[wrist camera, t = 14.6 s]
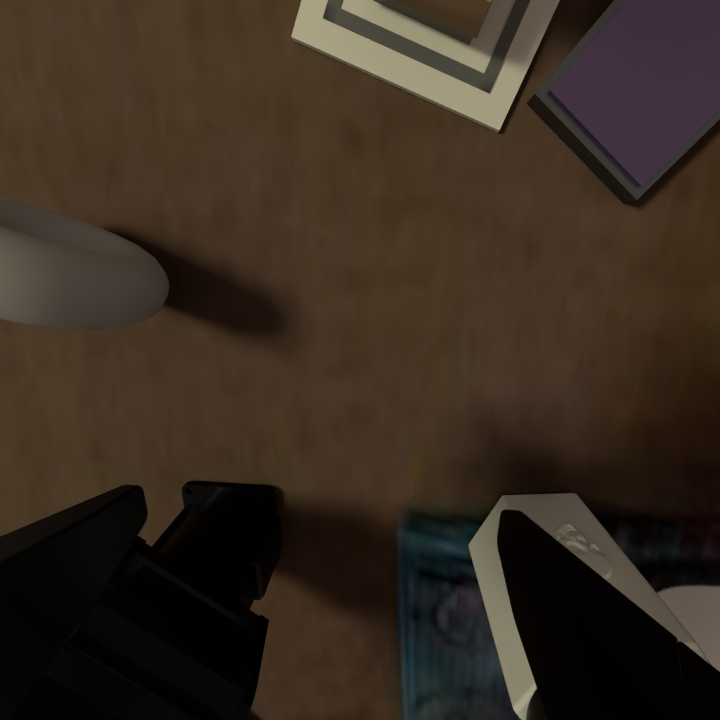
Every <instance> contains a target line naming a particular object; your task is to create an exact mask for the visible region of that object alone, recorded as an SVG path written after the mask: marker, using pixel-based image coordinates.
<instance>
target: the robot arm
mask: <svg viewBox="0 0 720 720" xmlns="http://www.w3.org/2000/svg"><path fill="white" fill-rule="evenodd" d="M189 488H190V489H191V490H190V489H189ZM265 493H268V494H269V496H268V495H266V494H265ZM182 495H183V502H184V509H183V510H182V511H181V512H180V514H179V515H178V516H177V517H176V518H175V520H174V521H173V522H172V523H171V524H170V526H169V527H168V528H167V529H166V530H165V531H164V533H163V534H162V535H161V536H160V537H159V539H158V540H157V541H156V542H155V543H154V544H153V546H152V547H151V546H149V545H148V544H146V541H145V540H144V539H142V538H141V537H139V536H137V535H138V534H139V532H140V530H141V529H142V527H143V525H144V524H145V522H146V519H147V514H148V512H147V506H146V501H145V496H144V491H143V489H142V487H140V486H138V485H123V486H120V487H118V488H115V489H113V490H110V491H108V492H106V493H103V494H101V495H98V496H96V497H94V498H91V499H89V500H87V501H84V502H82V503H79V504H77V505H75V506H72V507H70V508H68V509H65V510H63V511H60V512H58V513H56V514H53V515H51V516H49V517H46V518H44V519H41V520H39V521H37V522H34V523H32V524H29V525H27V526H25V527H22V528H20V529H18V530H15V531H13V532H10V533H8V534H6V535H3V536H1V537H0V720H246V719H247V717H248V714H249V711H250V709H251V706H252V703H253V700H254V696H255V692H256V688H257V683H258V678H259V672H260V667H261V661H262V656H263V650H264V644H265V639H266V633H267V628H268V622H269V620H268V619H267V618H265V617H264V616H262V615H260V616H258V615H257V614H255V613H254V612H252V611H251V610H250V608H251V605H252V603H253V601H254V600H260V599H261V598H262V597H264V594H265V592H266V589H267V586H268V584H269V581H270V579H271V576H272V573H273V571H274V568H275V566H277V564H278V562H279V559H280V552H281V550H282V531H281V519H280V517H279V516H277V509H276V493H275V490H274V489H273V488H272V487H270V486H259V485H243V484H226V483H210V482H194V481H189V482H187V483H186V484H185V485H184V486H183V487H182ZM497 547H498V552H499V557H500V561H501V565H502V570H503V574H504V578H505V583H506V587H507V592H508V596H509V600H510V605H511V609H512V613H513V617H514V620H515V624H516V627H517V630H518V633H519V636H520V639H521V642H522V645H523V648H524V651H525V654H526V657H527V660H528V663H529V666H530V669H531V672H532V675H533V678H534V681H535V684H536V687H537V690H538V693H539V696H540V699H541V702H542V705H543V708H544V711H545V714H546V717H547V719H548V720H720V672H719V671H718V670H716V669H715V668H714V667H713V666H712V665H710V664H709V663H708V662H707V661H705V660H704V659H703V658H702V657H700V656H699V655H698V654H697V653H696V652H694V651H693V650H692V649H691V648H689V647H688V646H687V645H686V644H684V643H683V642H681V641H679V642H678V639H677V638H676V636H674V635H673V634H672V633H671V632H669V631H668V630H667V629H666V628H664V627H663V626H662V625H661V624H660V623H658V622H657V621H656V620H655V619H653V618H652V617H651V616H650V615H648V614H647V613H646V612H645V611H644V610H642V609H641V608H640V607H639V606H637V605H636V604H635V603H634V602H632V601H631V600H630V599H629V598H628V597H626V596H625V595H624V594H623V593H621V592H620V591H619V590H618V589H616V588H615V587H614V586H613V585H612V584H610V583H609V582H608V581H607V580H605V579H604V578H603V577H602V576H600V575H599V574H598V573H597V572H596V571H594V570H593V569H592V568H591V567H589V566H588V565H587V564H586V563H584V562H583V561H582V560H581V559H579V558H578V557H577V556H576V555H575V554H573V553H572V552H571V551H570V550H568V549H567V548H566V547H565V546H563V545H562V544H561V543H560V542H559V541H557V540H556V539H555V538H554V537H552V536H551V535H550V534H549V533H547V532H546V531H545V530H544V529H543V528H541V527H540V526H539V525H538V524H536V523H535V522H534V521H533V520H531V519H530V518H529V517H528V516H527V515H525V514H524V513H523V512H521V511H519V510H507V509H504V510H502V511H501V514H500V520H499V527H498V534H497Z"/></svg>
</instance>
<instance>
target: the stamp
mask: <svg viewBox="0 0 720 720" xmlns="http://www.w3.org/2000/svg"><path fill="white" fill-rule="evenodd" d="M373 1H375V2H377V3H380V4H382V5H384V6H386V7H388V8H390V9H392V10H395V11H397V12H399V13H401V14H403V15H405V16H408V17H410V18H412V19H414V20H416V21H418V22H420V23H423V24H425V25H427V26H429V27H431V28H433V29H435V30H438V31H440V32H442V33H444V34H446V35H448V36H450V37H453V38H455V39H457V40H459V41H461V42H463V43H466V44H468V45H470V43H471V41H472V39H473V37H474V38H476V39H477V37H478V34H479V32H480V29H481V27H482V25H483V22H484V20H485V18H486V15H487V13H488V11H489V8H490V6H491V3H492V1H493V0H373Z"/></svg>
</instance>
